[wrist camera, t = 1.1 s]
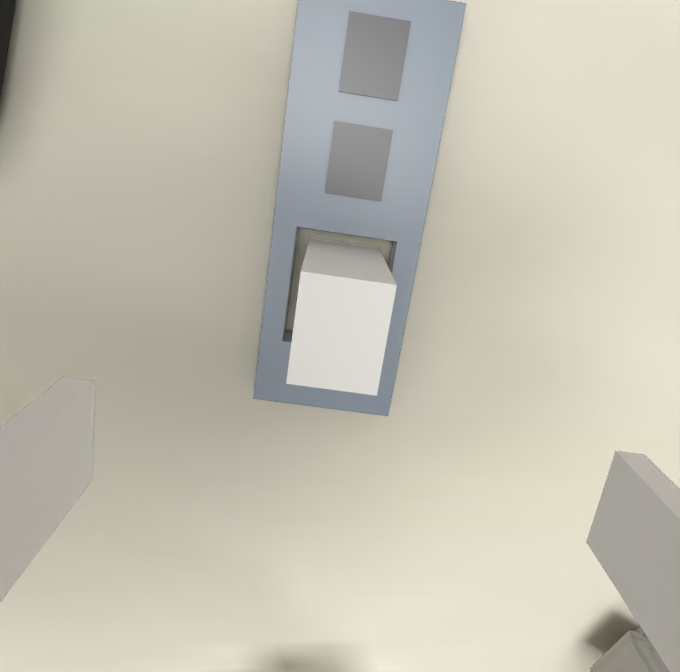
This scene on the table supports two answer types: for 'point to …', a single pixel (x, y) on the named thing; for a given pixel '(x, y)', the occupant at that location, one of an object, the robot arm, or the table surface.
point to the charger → (341, 317)
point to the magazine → (5, 32)
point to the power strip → (357, 159)
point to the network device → (631, 655)
